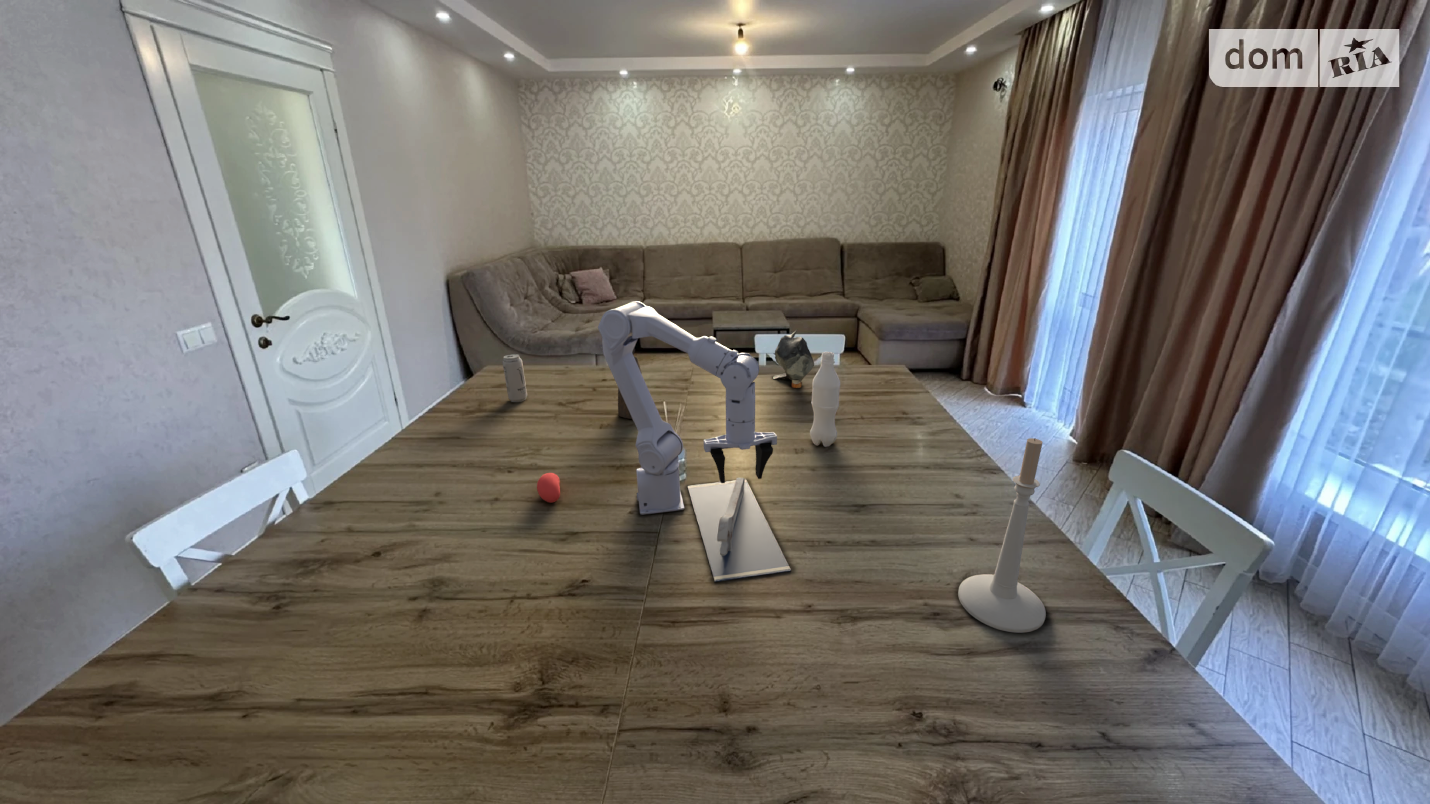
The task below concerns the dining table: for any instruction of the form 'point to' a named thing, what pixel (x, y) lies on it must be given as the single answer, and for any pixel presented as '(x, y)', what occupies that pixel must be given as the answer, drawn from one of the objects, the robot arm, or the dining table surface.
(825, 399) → the water bottle
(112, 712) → the dining table surface
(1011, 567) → the candlestick
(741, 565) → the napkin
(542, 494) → the stress ball
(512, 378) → the energy drink can
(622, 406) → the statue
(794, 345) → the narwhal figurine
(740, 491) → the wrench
